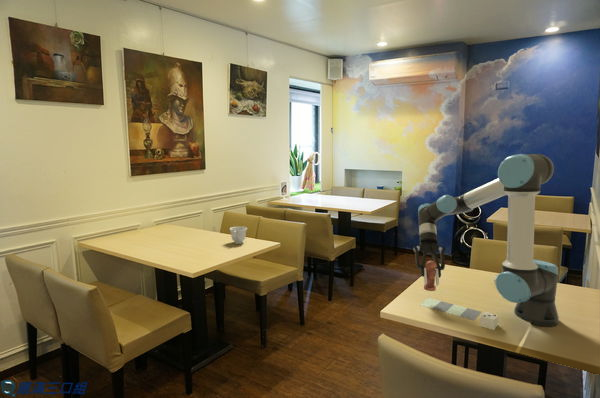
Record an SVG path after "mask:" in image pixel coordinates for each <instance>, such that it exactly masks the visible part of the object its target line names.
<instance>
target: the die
mask: <svg viewBox="0 0 600 398" xmlns="http://www.w3.org/2000/svg"><path fill="white" fill-rule="evenodd" d="M479 316H480V317H479V327H482V328H485V329H489V330H493V331H495V330H496V328H497V327H498V324H499V315H498V314H494V313H491V312H487V311H483V312H482V313H481V314H480V315H479Z"/></svg>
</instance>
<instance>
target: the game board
mask: <svg viewBox="0 0 600 398" xmlns="http://www.w3.org/2000/svg"><path fill="white" fill-rule="evenodd" d="M419 306H421V307H425V308H428V309H432V310H436V311H438V312H442V313H446V314H450V315H453V316H458V317H460V318H464V319H467V320H472V321H475V320H476V319H477V318H478V317H479V316H480V315H481V314H482V311H480V310H477V309H474V308H473V309H472V308H468V307H466V306H461V305H458V304H453V303H450V302H445V301H443V300H439V299H435V298H432V297H431V298H430V297H427V298H426V299H425V300H424V301H422V303H420V304H419Z"/></svg>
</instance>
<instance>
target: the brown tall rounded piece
mask: <svg viewBox="0 0 600 398" xmlns="http://www.w3.org/2000/svg"><path fill="white" fill-rule="evenodd" d="M425 268H426V274H427V284H426V285H424V284H423V290H425V291H427V292H428V291H429V292H434V291H436V288H437V286H436V276H435V270H436V268H437V265H436V263H435V262H434V260H428V261H426V262H425Z"/></svg>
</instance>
